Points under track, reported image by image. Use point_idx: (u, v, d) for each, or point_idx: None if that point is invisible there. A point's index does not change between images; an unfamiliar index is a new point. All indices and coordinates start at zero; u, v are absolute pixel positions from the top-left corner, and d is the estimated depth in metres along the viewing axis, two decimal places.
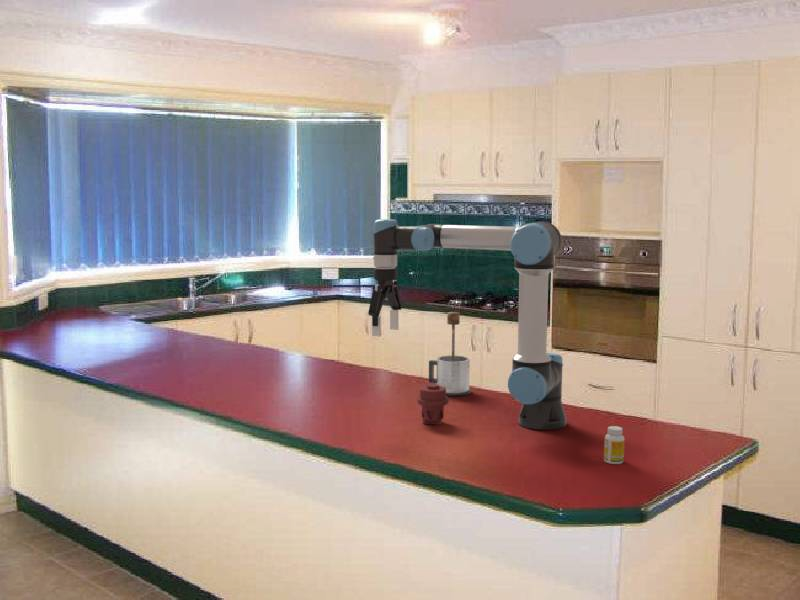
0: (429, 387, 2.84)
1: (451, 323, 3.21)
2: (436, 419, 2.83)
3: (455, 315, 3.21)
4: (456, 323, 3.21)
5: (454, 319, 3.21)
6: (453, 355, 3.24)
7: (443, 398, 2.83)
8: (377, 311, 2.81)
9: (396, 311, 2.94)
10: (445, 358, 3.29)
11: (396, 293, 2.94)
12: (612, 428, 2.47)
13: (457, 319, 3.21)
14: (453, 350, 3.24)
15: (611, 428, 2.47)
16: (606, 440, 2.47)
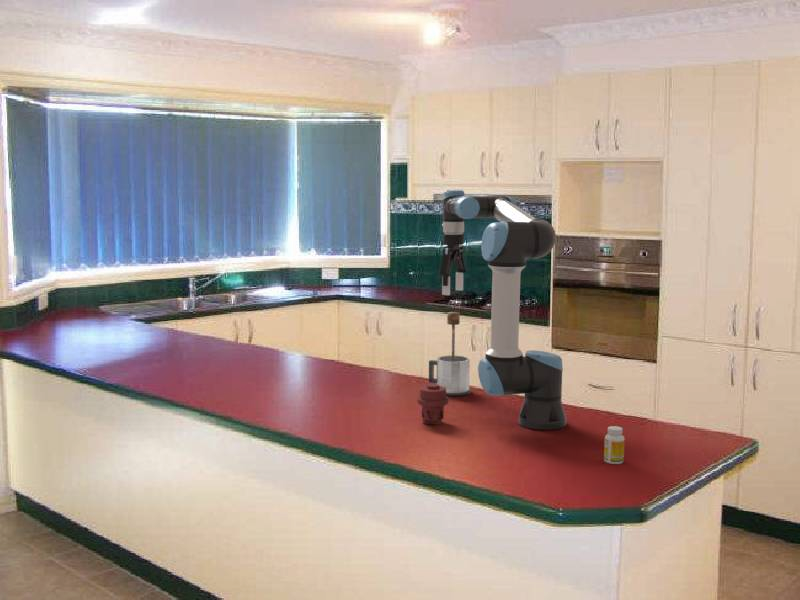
0: (429, 387, 2.84)
1: (451, 323, 3.21)
2: (436, 419, 2.83)
3: (455, 315, 3.21)
4: (456, 323, 3.21)
5: (454, 319, 3.21)
6: (453, 355, 3.24)
7: (443, 398, 2.83)
8: None
9: (461, 273, 3.26)
10: (445, 358, 3.29)
11: (461, 257, 3.25)
12: (612, 428, 2.47)
13: (457, 319, 3.21)
14: (453, 350, 3.24)
15: (611, 428, 2.47)
16: (606, 440, 2.47)
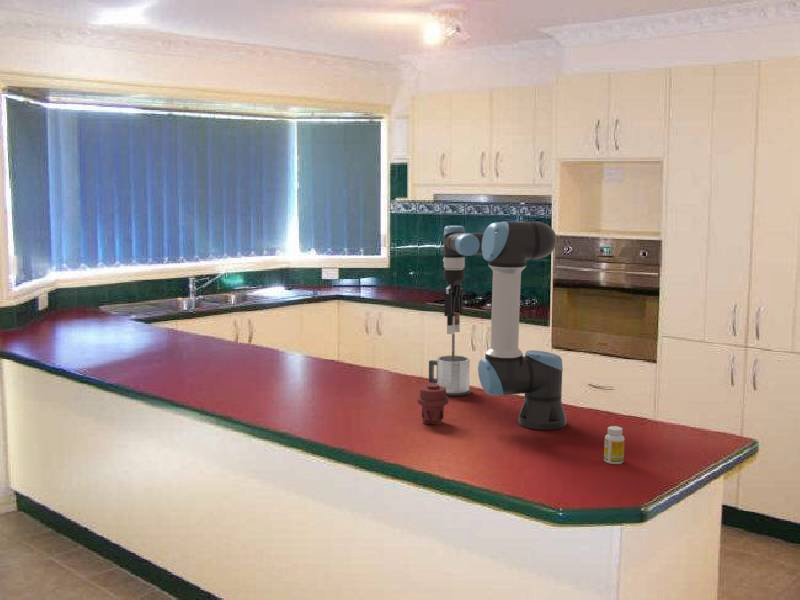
0: (429, 387, 2.84)
1: None
2: (436, 419, 2.83)
3: (455, 315, 3.21)
4: (456, 323, 3.21)
5: None
6: (453, 355, 3.24)
7: (443, 398, 2.83)
8: None
9: None
10: (445, 358, 3.29)
11: (460, 296, 3.26)
12: (612, 428, 2.47)
13: (457, 319, 3.21)
14: (453, 350, 3.24)
15: (611, 428, 2.47)
16: (606, 440, 2.47)
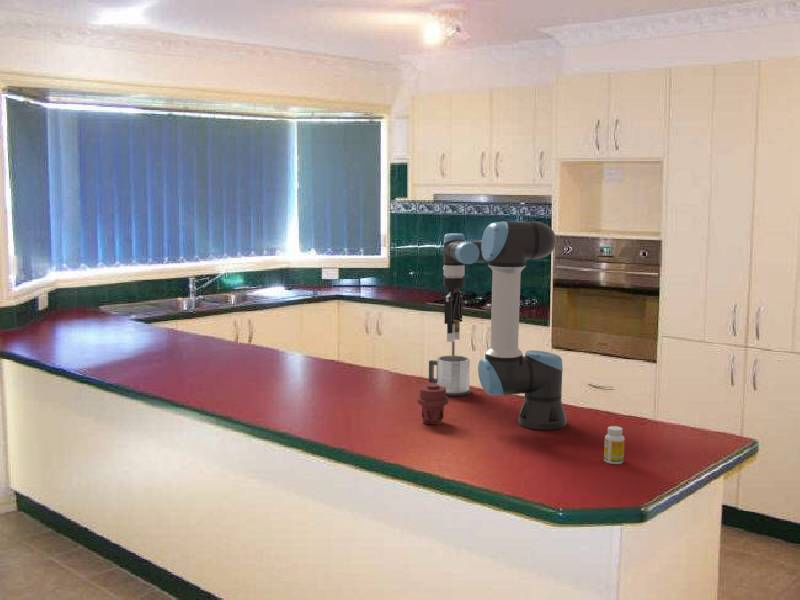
0: (429, 387, 2.84)
1: None
2: (436, 419, 2.83)
3: (455, 323, 3.21)
4: (456, 330, 3.22)
5: None
6: None
7: (443, 398, 2.83)
8: None
9: None
10: (445, 358, 3.29)
11: (460, 303, 3.26)
12: (612, 428, 2.47)
13: (457, 327, 3.22)
14: (453, 358, 3.24)
15: (611, 428, 2.47)
16: (606, 440, 2.47)
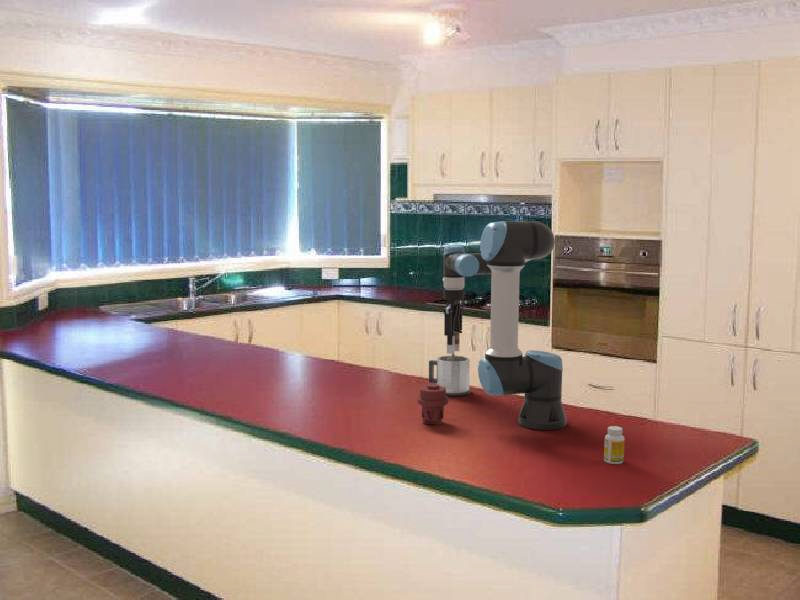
0: (429, 387, 2.84)
1: None
2: (436, 419, 2.83)
3: (455, 335, 3.22)
4: (456, 342, 3.22)
5: None
6: None
7: (443, 398, 2.83)
8: None
9: None
10: (445, 358, 3.29)
11: (460, 315, 3.27)
12: (612, 428, 2.47)
13: (457, 338, 3.22)
14: None
15: (611, 428, 2.47)
16: (606, 440, 2.47)
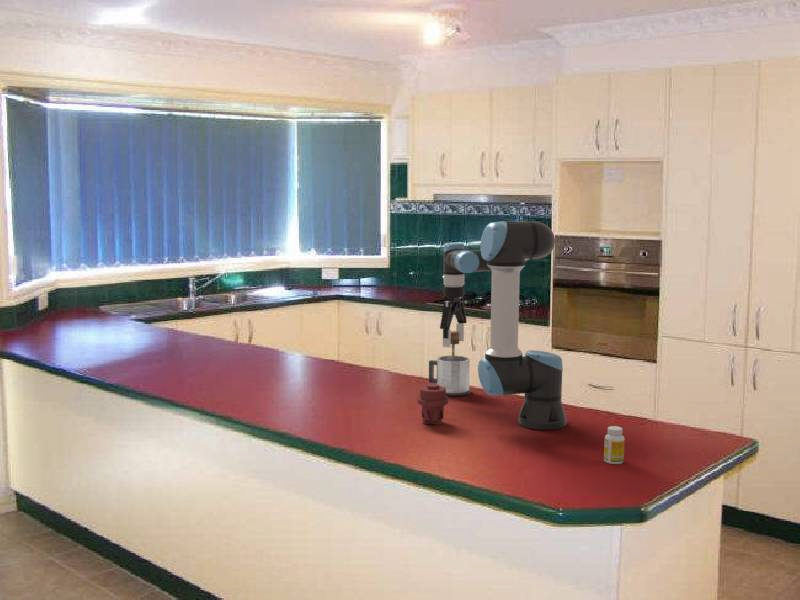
0: (429, 387, 2.84)
1: (451, 342, 3.22)
2: (436, 419, 2.83)
3: (455, 335, 3.22)
4: (456, 342, 3.22)
5: (454, 339, 3.22)
6: None
7: (443, 398, 2.83)
8: None
9: (462, 324, 3.29)
10: (445, 358, 3.29)
11: (462, 308, 3.28)
12: (612, 428, 2.47)
13: (457, 338, 3.22)
14: None
15: (611, 428, 2.47)
16: (606, 440, 2.47)
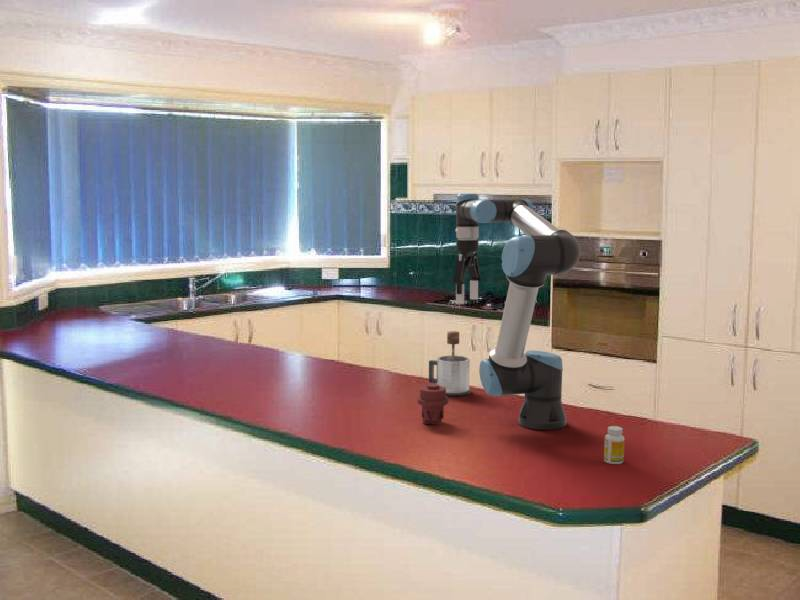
0: (429, 387, 2.84)
1: (451, 342, 3.22)
2: (436, 419, 2.83)
3: (455, 335, 3.22)
4: (456, 342, 3.22)
5: (454, 339, 3.22)
6: None
7: (443, 398, 2.83)
8: None
9: (476, 281, 3.10)
10: (445, 358, 3.29)
11: (476, 264, 3.09)
12: (612, 428, 2.47)
13: (457, 338, 3.22)
14: None
15: (611, 428, 2.47)
16: (606, 440, 2.47)
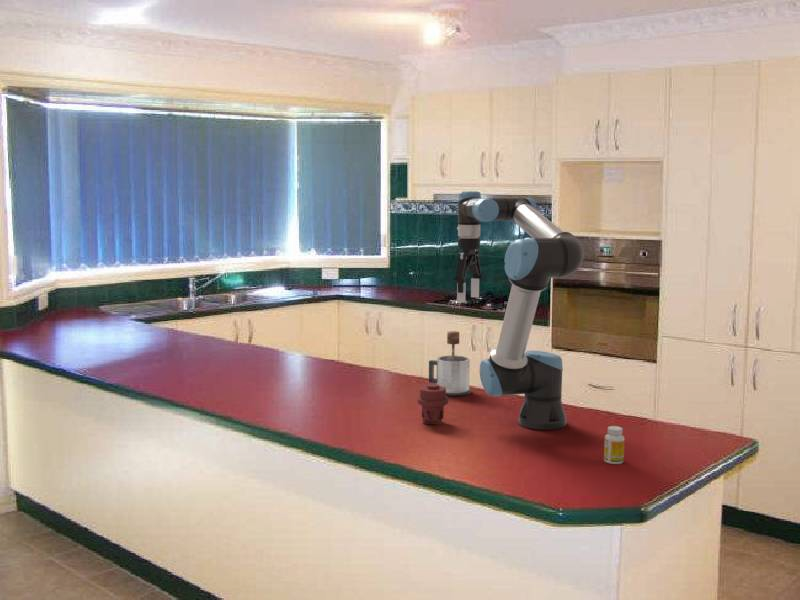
0: (429, 387, 2.84)
1: (451, 342, 3.22)
2: (436, 419, 2.83)
3: (455, 335, 3.22)
4: (456, 342, 3.22)
5: (454, 339, 3.22)
6: None
7: (443, 398, 2.83)
8: (462, 278, 2.95)
9: (477, 279, 3.08)
10: (445, 358, 3.29)
11: (477, 262, 3.08)
12: (612, 428, 2.47)
13: (457, 338, 3.22)
14: None
15: (611, 428, 2.47)
16: (606, 440, 2.47)
